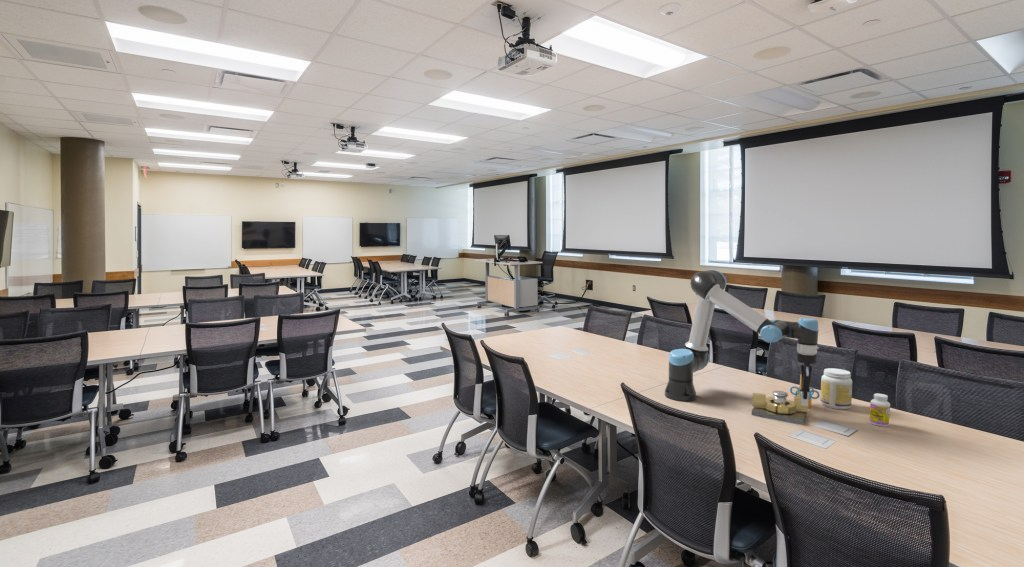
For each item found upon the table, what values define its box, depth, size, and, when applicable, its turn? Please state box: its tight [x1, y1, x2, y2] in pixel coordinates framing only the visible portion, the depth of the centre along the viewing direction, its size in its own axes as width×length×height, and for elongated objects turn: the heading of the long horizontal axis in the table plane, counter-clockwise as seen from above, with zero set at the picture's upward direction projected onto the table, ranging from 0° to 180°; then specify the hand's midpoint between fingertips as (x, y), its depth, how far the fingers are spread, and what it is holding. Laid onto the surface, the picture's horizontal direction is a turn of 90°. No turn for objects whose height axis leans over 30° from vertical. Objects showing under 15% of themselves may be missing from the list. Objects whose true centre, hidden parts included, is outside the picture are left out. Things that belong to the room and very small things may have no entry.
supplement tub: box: [820, 367, 853, 410], centre depth 221 cm, size 12×12×17 cm
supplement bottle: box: [868, 392, 891, 428], centre depth 199 cm, size 7×7×13 cm
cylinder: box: [789, 373, 821, 409], centre depth 221 cm, size 12×10×15 cm
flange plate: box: [750, 390, 808, 426], centre depth 212 cm, size 20×18×10 cm
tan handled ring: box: [752, 392, 809, 414], centre depth 212 cm, size 22×12×6 cm, turn 72°
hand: (804, 405), depth 208 cm, fingers closed
